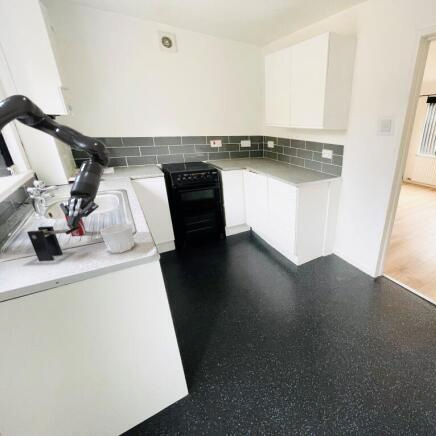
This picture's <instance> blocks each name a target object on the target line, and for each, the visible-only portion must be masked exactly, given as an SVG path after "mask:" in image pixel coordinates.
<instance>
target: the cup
mask: <svg viewBox="0 0 436 436" xmlns="http://www.w3.org/2000/svg"><path fill="white" fill-rule="evenodd" d="M99 232H100V234H101V237H102V239H103V241H104V243H105V246H106V248H107V251H108V252H111V254H115V253H116V254H117V253H123V252H126V251H129V250H131V249H132V247H135V241H134V234H133V228H132V224H130V223H116V224H111V225H108V226H105V227H103V228H102V229H100V231H99Z"/></svg>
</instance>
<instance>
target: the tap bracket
mask: <svg viewBox="0 0 436 436" xmlns="http://www.w3.org/2000/svg"><path fill="white" fill-rule="evenodd" d="M43 229H47V230H48V231H55V229H54V226H52V225H50V226H49V225H48V226H46V225H45V226H38V227H37V230H27V232H26V233H27V236H28V238H29V240H30V243H31V245H32V248H33V250H34V252H35V255H36V256H37V259H38V262H52V261H54V260H55V258H54V257H55V256H56V257H57V256H59V257H60V256H61V257H62V256H63V255H64V253H63V250H62V248H61V245H60V242H59V240H58V238H57V237H58V236H57V234H50V235H49V236H47V237H45V235H44V233H43V231H38V230H43Z"/></svg>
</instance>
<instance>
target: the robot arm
mask: <svg viewBox="0 0 436 436" xmlns="http://www.w3.org/2000/svg"><path fill="white" fill-rule="evenodd" d="M15 120H16V121H17V122H19V123H21V124H22V125H24V126H27V127H29V128H32V129H35V130H37V131H39V132H42V133H45V134H47V135H49V136H51V137H53V138H54V139H56V140H57V141H60V142H61V143H63V144H64V145H67V147H70V148H71V149H74V150H76V151H77V152H78V151H79V152H83V151H84V152H85V153H86V154H87V156H88V157H89V160H84V161H83V162H82V163H81V166H80V168H79V170H78V173H77V175H76V176H75V177H74V181H73V183H72V186H71V188H70V191H69V194H70V197H69V198H68V199H67V201H66V202H65V203H63V202H61V203H59V207H60V209H61V211H62V213H63V215H64V216H65V215H67V216H68V217H69V220H68V223H67V222H66V225H67V227H68V228H69V227H70V228H76V227H77V226H78V225H79V222H80V219H81V218H82V219H83V218H87V217H88V216H90V214H92V213H93V212H94V211H96V210H97V209H98V208H99V207H100V206H99V204H97V203H96V202H95V199H96V197H97V194H98V191H99V189H100V185H101V181H102V180H101V179H102V177H103V173H104V171H105V170H106V168H107V167H108V166H109V164H110V162H111V153H110V152H109V150H108V148H107V146H106V144H105V143H104V142H102V141H101V140H100V139H98V138H95V137H92V136H89V135H85V134H84V133H82V132H80V131H78V130H76V129H74V128H72V127H70V126H68V125H66V124H62V123H59V122H57V121H55V120H54V119H52V117H50V116H49V115H47V113H45V112H44V111H43V110H42V108H41V107H39V106H38V105H37V104H36V103H35V102H34V101H33V100H32V99H30V98H29V97H27V96H26V95H23V94H12V95H9V96H8V97H6V98H4V99H3V100H1V101H0V134H1V133H2V131H3V129H4V128H5V127H6V126H7V125H8V124H10V123H11V122H13V121H15Z"/></svg>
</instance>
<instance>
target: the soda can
mask: <svg viewBox="0 0 436 436" xmlns="http://www.w3.org/2000/svg"><path fill="white" fill-rule="evenodd" d="M64 218H65V220H66V224H67V223H68V220H69V217H68V216H67V215H65V214H64ZM78 226H79V227H80V229H78V230H76V231H74V232H72V233H70V234H71V237H81V236H84V235H86V234H87V229H86V227H85V224H84V221H83V217H82V218H81V219H80V222H79V225H78ZM68 229H72V228H70V227H68Z"/></svg>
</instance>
